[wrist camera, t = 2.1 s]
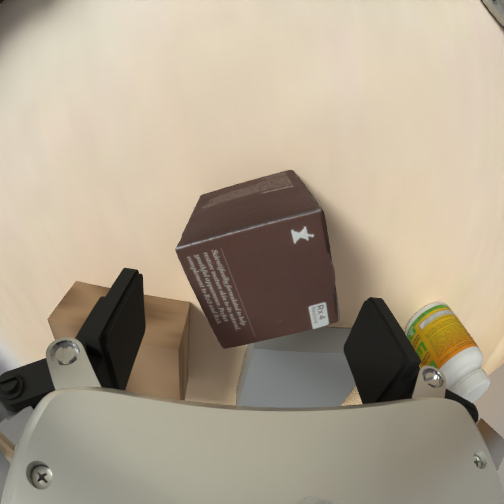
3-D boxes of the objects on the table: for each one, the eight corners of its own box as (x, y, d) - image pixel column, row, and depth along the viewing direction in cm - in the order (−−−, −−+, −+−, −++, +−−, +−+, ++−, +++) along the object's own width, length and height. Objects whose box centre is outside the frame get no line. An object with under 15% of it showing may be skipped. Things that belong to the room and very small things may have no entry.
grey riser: (365, 329, 23) (376, 353, 20) (327, 393, 27) (332, 415, 25) (253, 320, 22) (253, 348, 19) (236, 390, 26) (236, 414, 24)
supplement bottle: (399, 319, 23) (444, 403, 14) (446, 290, 21) (502, 364, 13) (407, 349, 25) (443, 424, 16) (449, 324, 24) (492, 392, 15)
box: (198, 192, 17) (170, 245, 11) (293, 167, 16) (325, 205, 10) (228, 273, 20) (220, 351, 13) (312, 252, 19) (341, 325, 13)
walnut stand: (190, 302, 21) (178, 350, 17) (187, 378, 26) (181, 420, 21) (76, 281, 20) (47, 319, 16) (96, 359, 25) (80, 395, 20)
